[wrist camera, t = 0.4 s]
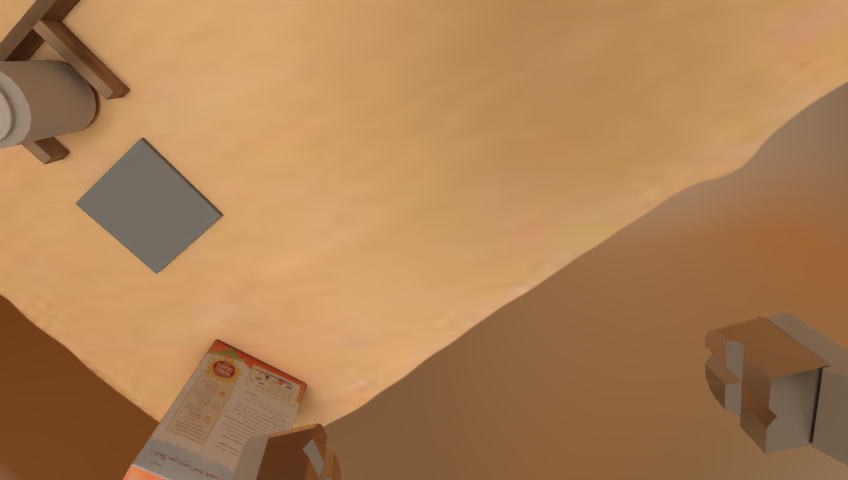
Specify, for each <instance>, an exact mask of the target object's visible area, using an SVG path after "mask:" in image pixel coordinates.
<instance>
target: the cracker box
mask: <svg viewBox="0 0 848 480" xmlns="http://www.w3.org/2000/svg"><path fill="white" fill-rule="evenodd" d="M305 387H306V384H304V383H302V382H300V381H298V380H296V379H294V378H292V377H290V376H288V375H286V374H284V373H282V372H280V371H278V370H276V369H274V368H272V367H270V366H268V365H266V364H264V363H262V362H260V361H258V360H256V359H253V358H251V357H249V356H247V355H245V354H243V353H241V352H239V351H237V350H235V349H233V348H231V347H229V346H227V345H225V344H223V343H221V342H219V341H217V340H216V341H215V342H214V343H213V345H212V346H211V348H210V349H209V350H208V352H207V353H206V355H205V356H204V358H203V359H202V361H201V362H200V364H199V365H198V367H197V368H196V370H195V371H194V373H193V374H192V376H191V377H190V379H189V380H188V382H187V383H186V385H185V386H184V387H183V389H182V390H181V392H180V393H179V395H178V396H177V398H176V399H175V401H174V402H173V404H172V405H171V407H170V408H169V410H168V411H167V413H166V414H165V416H164V417H163V419H162V420H161V422H160V423H159V425H158V426H157V428H156V429H155V431H154V432H153V434H152V435H151V437H150V438H149V440H148V441H147V443H146V444H145V446H144V447H143V449H142V450H141V452H140V453H139V454H138V456H137V457H136V459H135V460H134V462H133V463H132V465H131V466H130V468H129V470H128V471H127V473H126V475H125V477H124V478H123V480H232V478H233V475H234V473H235V470H236V467H237V464H238V461H239V458H240V456H241V453H242V450H243V447H244V445H245V443H246V442H247V441H248V440H249V439H250V438H254V437H259V436H263V435H268V434H272V433H275V432H280V431H284V430H289V429H293V425H294V422H295V419H296V416H297V413H298V410H299V406H300V403H301V400H302V397H303V394H304V390H305Z"/></svg>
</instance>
